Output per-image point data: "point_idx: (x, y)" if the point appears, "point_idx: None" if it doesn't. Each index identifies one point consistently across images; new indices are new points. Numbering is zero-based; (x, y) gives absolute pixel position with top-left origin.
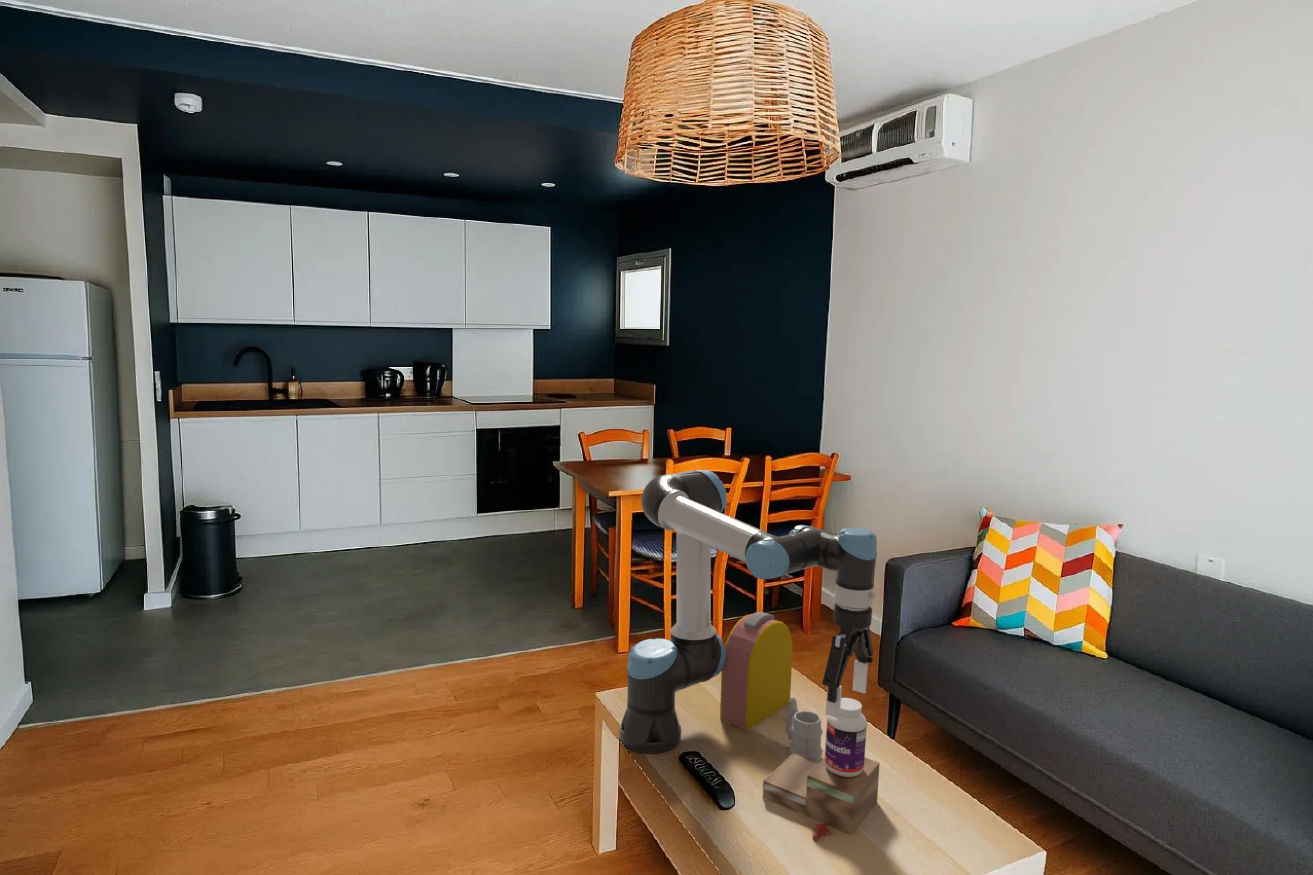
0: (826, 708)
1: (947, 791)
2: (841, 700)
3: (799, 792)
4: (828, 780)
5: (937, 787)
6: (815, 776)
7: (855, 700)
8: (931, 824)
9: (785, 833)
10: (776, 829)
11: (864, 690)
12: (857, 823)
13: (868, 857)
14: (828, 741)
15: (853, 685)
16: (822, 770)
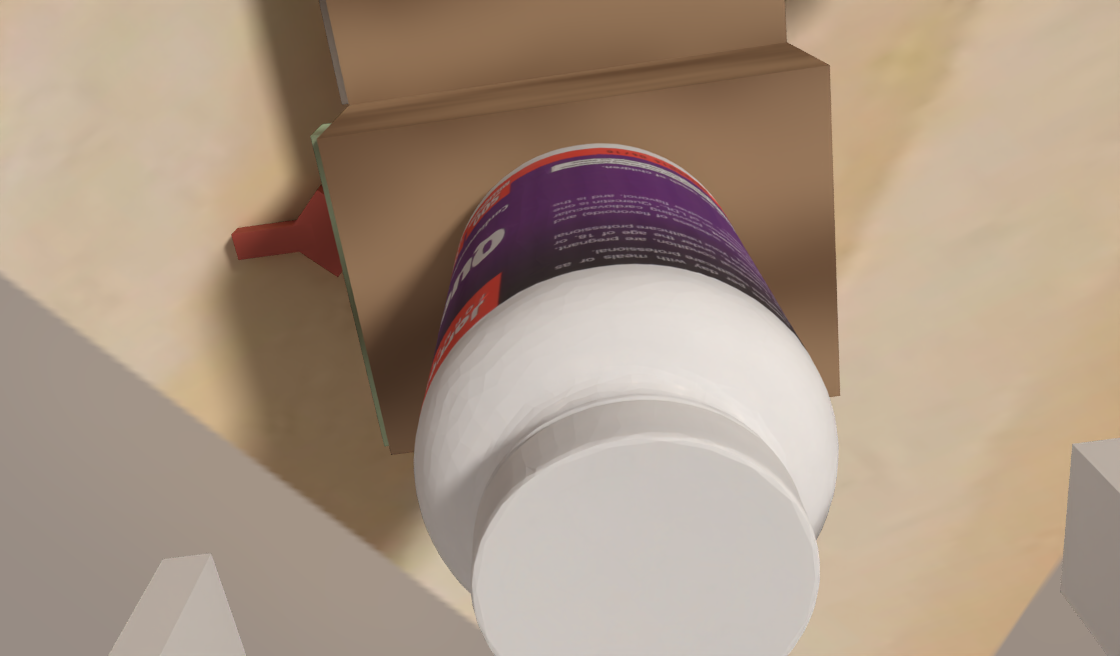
0: (133, 620)
1: None
2: (668, 494)
3: (362, 38)
4: (384, 277)
5: (1111, 436)
6: (352, 188)
7: (798, 603)
8: None
9: (152, 99)
10: (135, 42)
11: (1082, 616)
12: None
13: (344, 468)
14: (456, 291)
15: (1108, 490)
16: (459, 179)
